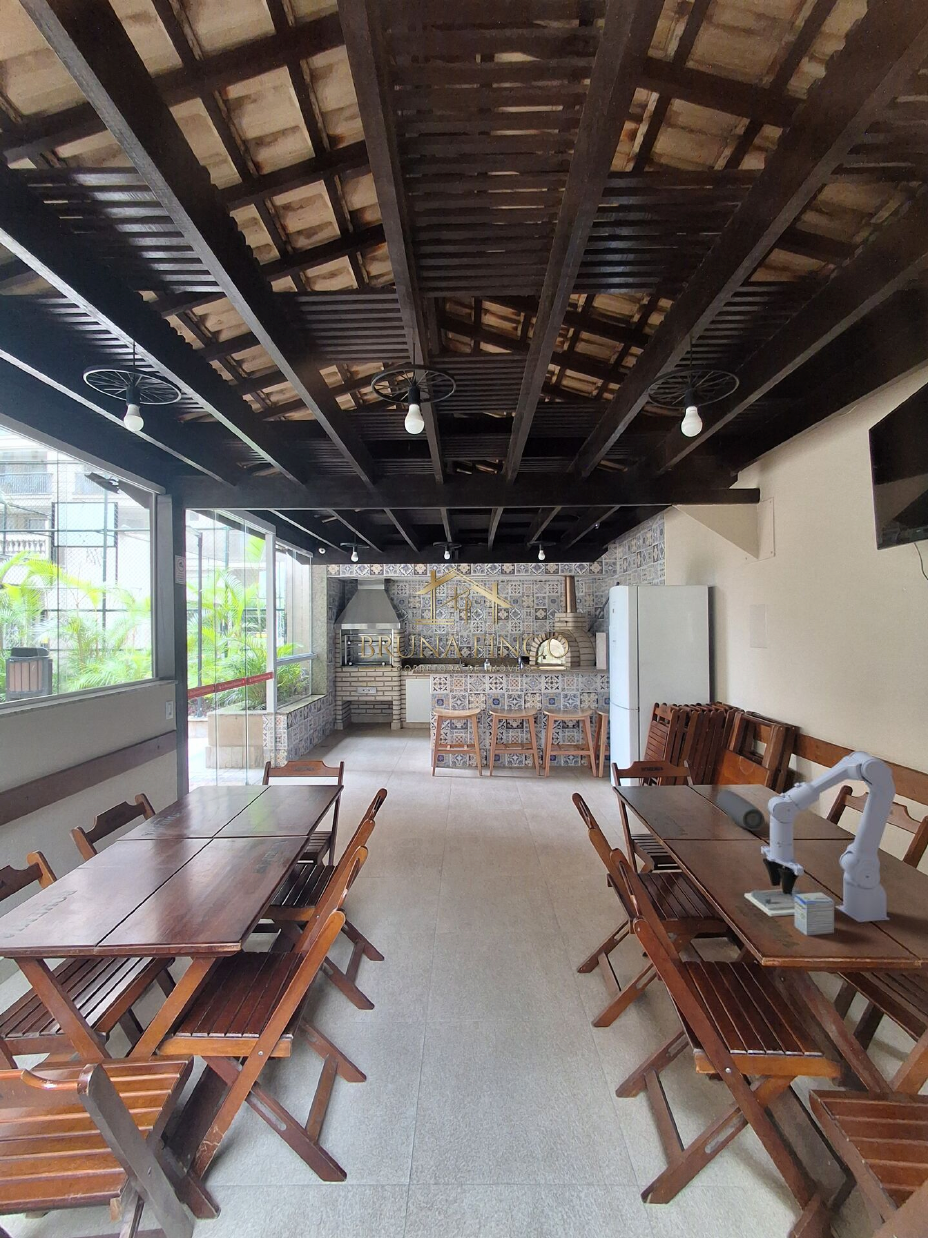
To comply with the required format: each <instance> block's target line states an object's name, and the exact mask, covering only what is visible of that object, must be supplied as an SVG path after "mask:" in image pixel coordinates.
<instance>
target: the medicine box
mask: <svg viewBox="0 0 928 1238" xmlns="http://www.w3.org/2000/svg"><path fill="white" fill-rule="evenodd" d="M794 927H795V929H797V930H798V931H800V932H801V933H802V934H803V935H805V936H815V935H825V934H834V932H835V901H834V900H833V899H832V898H830V897H829V896H828V895H826V894H824V893H823V892H809V893H808V892H807V893H806V894H796V895H795V915H794Z"/></svg>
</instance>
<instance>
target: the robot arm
mask: <svg viewBox="0 0 928 1238" xmlns="http://www.w3.org/2000/svg"><path fill="white" fill-rule="evenodd" d="M892 774H893V770H892V769H891V767H890V766H889V765H888V764H887V763H886V762H885V761H883V760H882V759H879V758H877V757H875V756H872V755H871V754H869V753H868V752H866V751H863V750H855V751H853V752H851V753H850V754H849V755H846V756H844V757H842V759H841V760H840V761H838V763H837V764H835V765H834V766H833V767H831V768H829V769H828V770H826V771H825V772H823V774H820V775H819V776H818V777H816V778H815V779H814V780H812V781H811V782H806V781H805V782H804V781H803V782H796V783H794V785H793V786H794V787H792V788H790V789H789V790H787V791H786V792H784V793H783V792H781V793H780V794H779V795H778V796H772V797H771V798H770V799H769V800H768V803H766V809H767V810H768V812H769V813H770V815H769V846H766V845H765V846H762V845H761V846H760V849H761V850H760V852H761V854H762V855H766V858H763V859H762V862H763V863H764V865H765V868H766V870H767V872H768V876H769V880H770V883H771V886H773V887H780V886H781V889H782V890H783V893H784V894H791V893H792V890H793V887H795V883H796V881H797V879H798V878H799V876H804V873H805V872H804V871H805V870H804V867H803V866H801V865H800V864H799V862H798V861H797V860H796V859H795V858H794V826H793V825H794V821H795V820H796V818H797V816H798V814H799V813H800V812H802V811H803V810H805V809H807V808H808V807H810V806H812V805H813V804H814V803H816V802H818V801H819V800H820V799H819V798H820V795H821V793H823V792H825V791H827V790H829V789H831V788H833V787H835V786H837V785H838V784H841V783H842V782H844V781H846V780H851V781H863V782H864V783H865V785H867V787H868V789H869V791H868V794H867V798H866V801H865V805H864V808H863V812H862V815H861V818H860V821H859V825H858V827H857V830H856V834H855V837H854V840H853V842H852V843H850V844H849V845H847V848H846V850H845V852H844V853H842V854H841V856H840V857H839V865H840V867H841V869H842V870H843V871H844V873H843V880H842V881H843V882H842V883H843V891H842V893H843V897H842V898H843V901H842V904H843V905H836V906H835V905H834V908H836V909H838V910H840V911H841V912H843V913H844V914H846V915H847V916H849V917H850V918H852V919H854V920H855V921H857V922H859V923H861V922H870V921H871V922H872V921H873V922H874V921H884V920H885V921H886V920H887V921H890V918H889V917H888V916H887V893H886V891H885V888H884V887H883V886H882V884H881V883H880V881H881V875H880V874H881V873H880V867H881V862H880V859H879V855H878V851H879V847H880V845H881V842H882V837H883V835H884V833H885V828H886V825H887V822H888V820H889V816H890V812H891V809H892V806H893V802H894V799H895V796H896V785H895V783H894V779H893V776H892Z"/></svg>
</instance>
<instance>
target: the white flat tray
mask: <svg viewBox="0 0 928 1238" xmlns="http://www.w3.org/2000/svg"><path fill="white" fill-rule="evenodd" d="M796 894H807V893H806V892H804V891H803V890H801V889H800V888H798V887H796V886H793V890H792V893H791V894H784V893H783V890H782V888H780V889H765V890H759V889H754V890H753V891H752V890H751V891H750V892H748V893H746V892H745V893H744V898H746V899H747V900H749V901H750V902H751V903H752V904H754V905H755V906H756V907H757V908H759V909H760V910H761V911H763V912H764V913H765V914H767V915H768V916H769V917H781V916H782V917H783V916H795V895H796Z"/></svg>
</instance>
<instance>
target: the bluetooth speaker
mask: <svg viewBox="0 0 928 1238" xmlns="http://www.w3.org/2000/svg"><path fill="white" fill-rule="evenodd" d="M717 794H718V795H717V797H716V801H715V802H716V804H717V806H718V807H719V808H720V809H721V811H723V812H724V813H725V814H726V815H727V816H728V817H729V818H730V820H731V821H732V822H733V823H735V824H736V825H737V826H738V827H740V828H745V829H747V830H748V831H749V830H750V831H759V830H760V829H762V828H763V827H764V825H765V821H766V819H765V816H764V814H763V812H762V811H761V810H760V809H759V808H758V807H756V806H755V804H752V803H751V802H750V801H749V800H747V799H746V798H744V797H742V796H741V795H740V794H737V793H736V792H734V791H731V790H729V789H726V790H722V791H720V792H719V793H717Z"/></svg>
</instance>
